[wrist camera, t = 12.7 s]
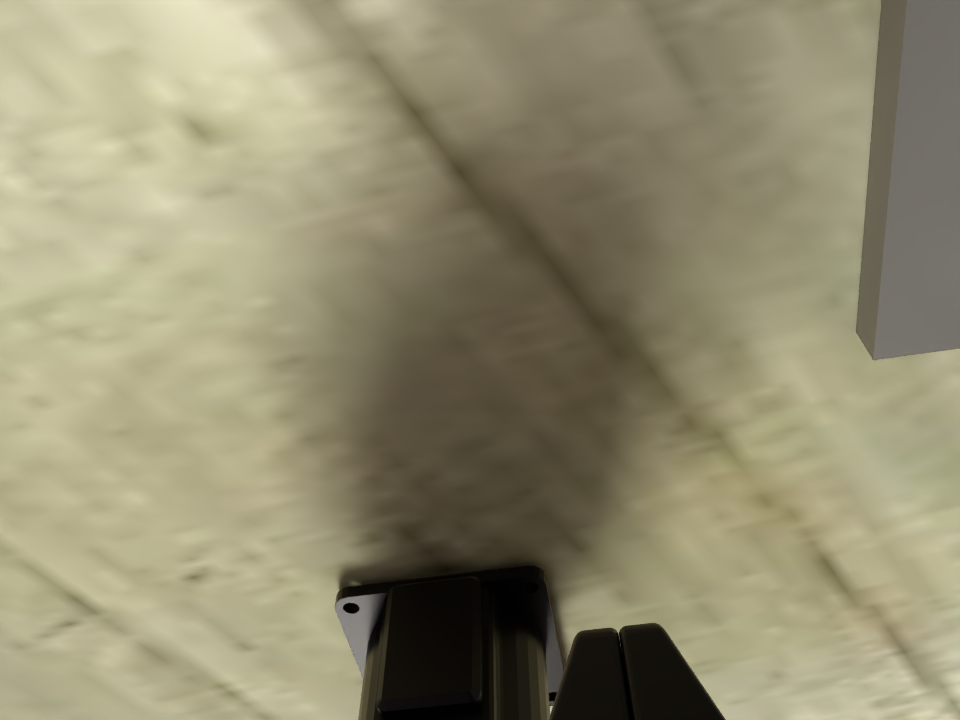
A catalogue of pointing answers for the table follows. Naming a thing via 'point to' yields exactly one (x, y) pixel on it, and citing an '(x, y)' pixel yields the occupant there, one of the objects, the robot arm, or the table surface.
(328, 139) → the table surface
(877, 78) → the rail
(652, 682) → the robot arm
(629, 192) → the table surface
